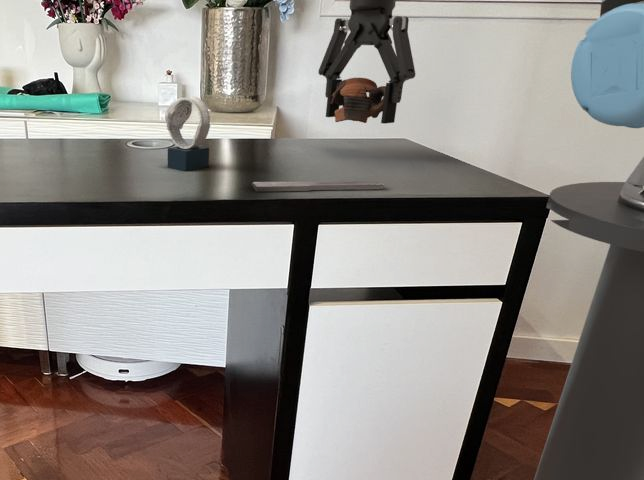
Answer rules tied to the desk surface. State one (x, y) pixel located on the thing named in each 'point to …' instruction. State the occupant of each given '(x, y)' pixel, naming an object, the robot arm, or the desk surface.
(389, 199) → the desk surface
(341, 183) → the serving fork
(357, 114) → the pottery mug
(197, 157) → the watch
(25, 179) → the desk surface
